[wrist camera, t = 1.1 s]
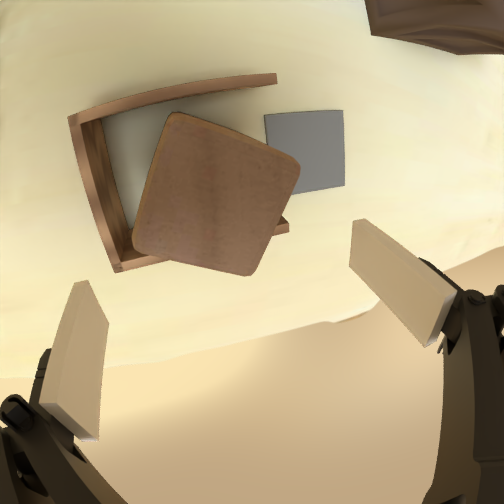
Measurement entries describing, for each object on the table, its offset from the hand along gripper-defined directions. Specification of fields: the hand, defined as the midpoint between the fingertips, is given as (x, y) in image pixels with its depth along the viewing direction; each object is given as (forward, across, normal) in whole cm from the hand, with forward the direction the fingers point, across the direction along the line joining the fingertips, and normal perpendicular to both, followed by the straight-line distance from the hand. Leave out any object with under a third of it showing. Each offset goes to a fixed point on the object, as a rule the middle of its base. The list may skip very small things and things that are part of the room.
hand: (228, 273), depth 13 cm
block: (+27, +1, 0) cm, 27 cm away
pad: (+27, +17, -1) cm, 32 cm away
